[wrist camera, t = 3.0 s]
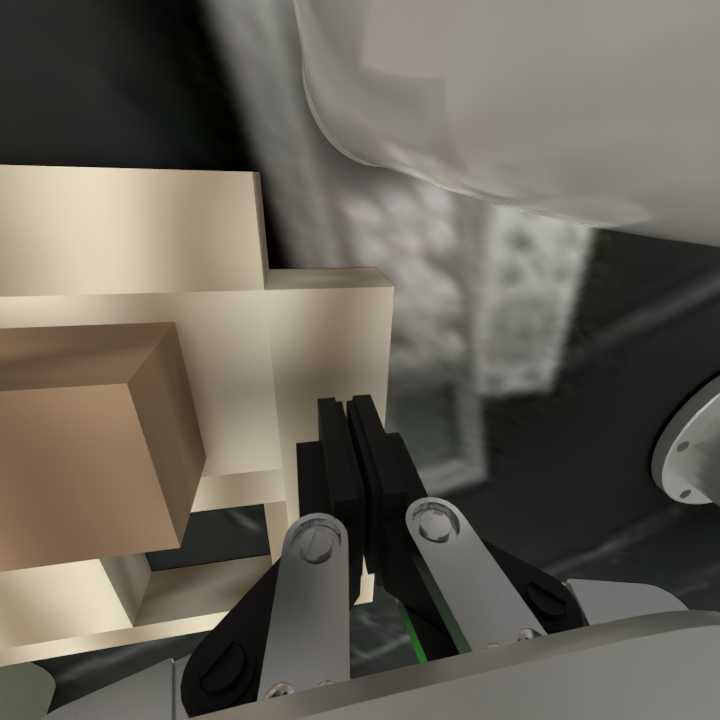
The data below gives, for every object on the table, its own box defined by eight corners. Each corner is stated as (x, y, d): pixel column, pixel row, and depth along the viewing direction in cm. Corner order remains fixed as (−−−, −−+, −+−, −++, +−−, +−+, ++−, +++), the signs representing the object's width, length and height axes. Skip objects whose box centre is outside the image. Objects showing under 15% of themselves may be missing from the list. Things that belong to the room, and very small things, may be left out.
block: (175, 321, 12) (126, 383, 8) (206, 458, 15) (180, 547, 11) (-35, 329, 11) (-189, 403, 7) (41, 474, 14) (-45, 578, 10)
